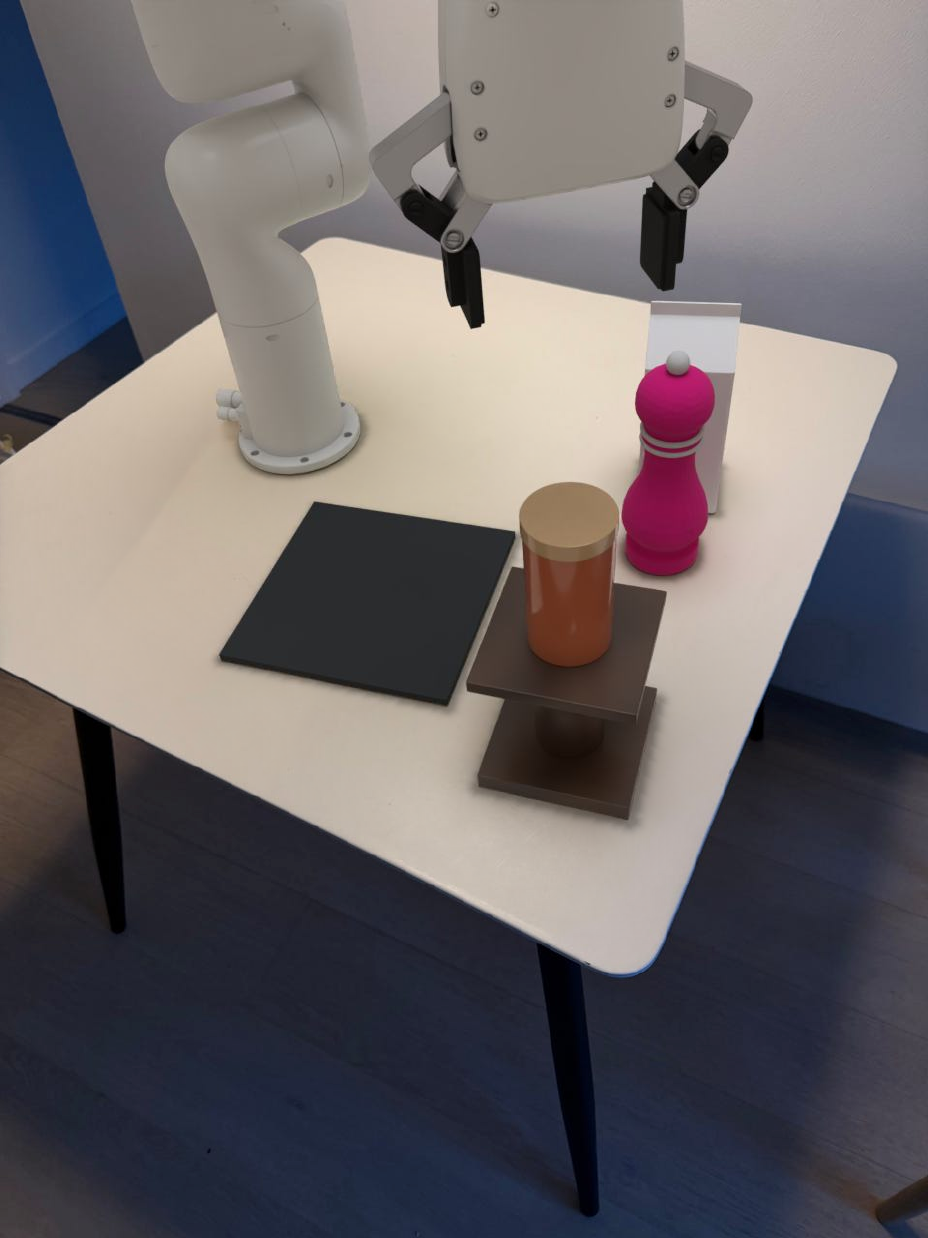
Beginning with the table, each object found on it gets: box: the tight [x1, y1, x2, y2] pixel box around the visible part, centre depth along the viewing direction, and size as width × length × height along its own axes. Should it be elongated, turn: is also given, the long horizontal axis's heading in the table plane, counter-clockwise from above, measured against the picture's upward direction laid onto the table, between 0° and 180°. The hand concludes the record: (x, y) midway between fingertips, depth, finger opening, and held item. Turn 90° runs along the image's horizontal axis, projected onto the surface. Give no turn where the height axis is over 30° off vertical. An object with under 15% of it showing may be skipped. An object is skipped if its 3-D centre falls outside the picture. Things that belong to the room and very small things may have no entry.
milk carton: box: [638, 300, 743, 514], centre depth 86 cm, size 7×7×19 cm
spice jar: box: [518, 481, 620, 667], centre depth 61 cm, size 6×6×11 cm
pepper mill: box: [620, 351, 715, 576], centre depth 80 cm, size 7×7×20 cm
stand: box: [465, 566, 668, 820], centre depth 70 cm, size 11×11×12 cm
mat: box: [218, 500, 517, 707], centre depth 86 cm, size 20×20×1 cm
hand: (564, 296), depth 50 cm, fingers open, 9 cm apart
